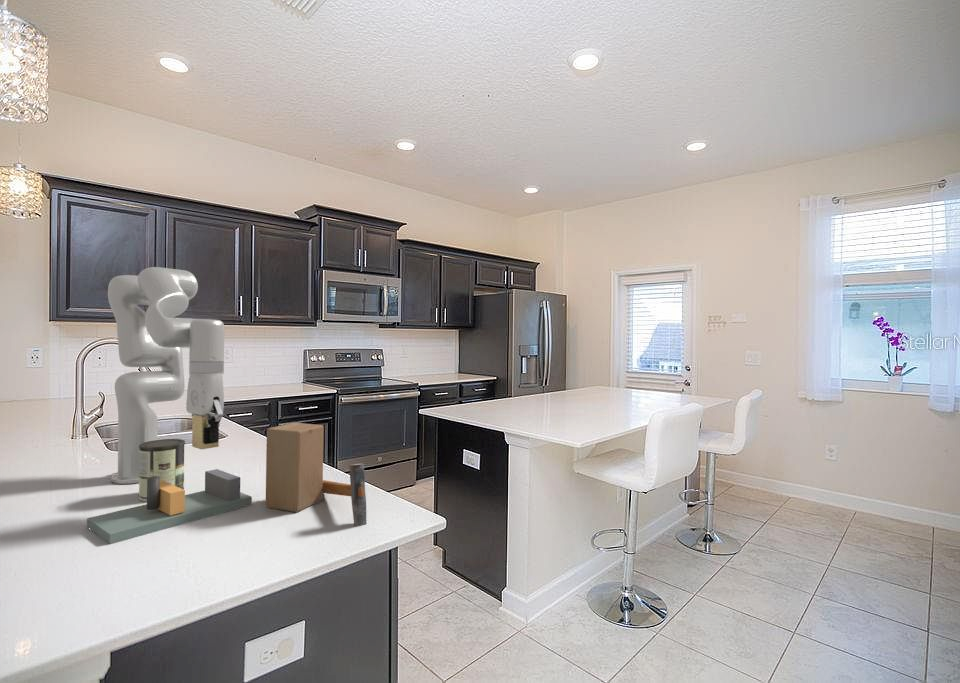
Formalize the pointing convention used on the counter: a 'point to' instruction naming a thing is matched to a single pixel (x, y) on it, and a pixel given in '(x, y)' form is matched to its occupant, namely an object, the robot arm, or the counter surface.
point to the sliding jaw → (164, 496)
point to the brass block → (200, 433)
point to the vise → (140, 521)
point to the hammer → (352, 492)
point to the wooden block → (294, 466)
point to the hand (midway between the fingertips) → (205, 440)
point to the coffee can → (161, 463)
